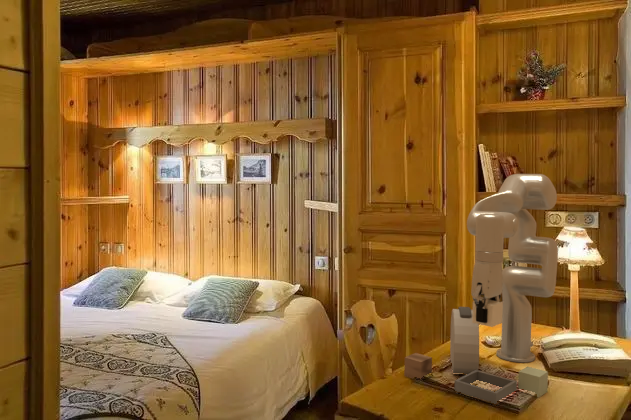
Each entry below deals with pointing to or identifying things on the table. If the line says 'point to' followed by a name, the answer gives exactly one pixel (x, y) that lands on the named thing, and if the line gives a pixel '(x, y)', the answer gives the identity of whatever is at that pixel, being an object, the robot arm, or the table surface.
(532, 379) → the sage block
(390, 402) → the table surface
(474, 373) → the grey tray
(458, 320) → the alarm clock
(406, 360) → the walnut block
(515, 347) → the robot arm
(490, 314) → the cream block
